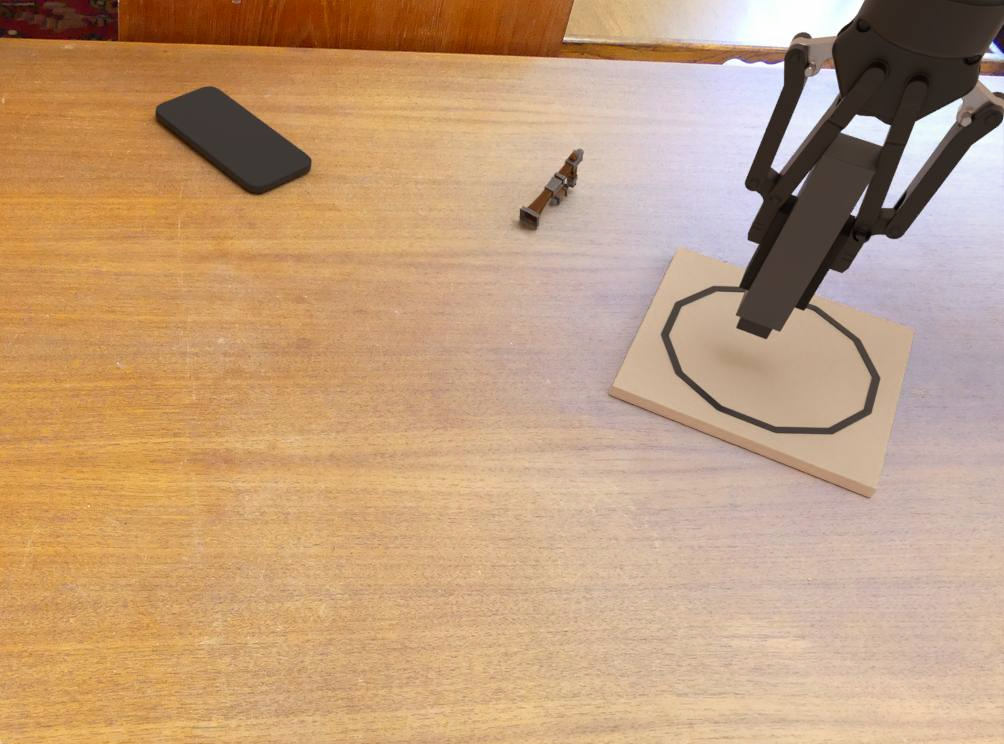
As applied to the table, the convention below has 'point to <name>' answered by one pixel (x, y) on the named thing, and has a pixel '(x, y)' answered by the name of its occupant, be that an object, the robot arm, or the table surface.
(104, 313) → the table surface
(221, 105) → the phone
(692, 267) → the sketch board
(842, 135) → the marker
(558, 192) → the brown two-tone long part
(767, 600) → the table surface
